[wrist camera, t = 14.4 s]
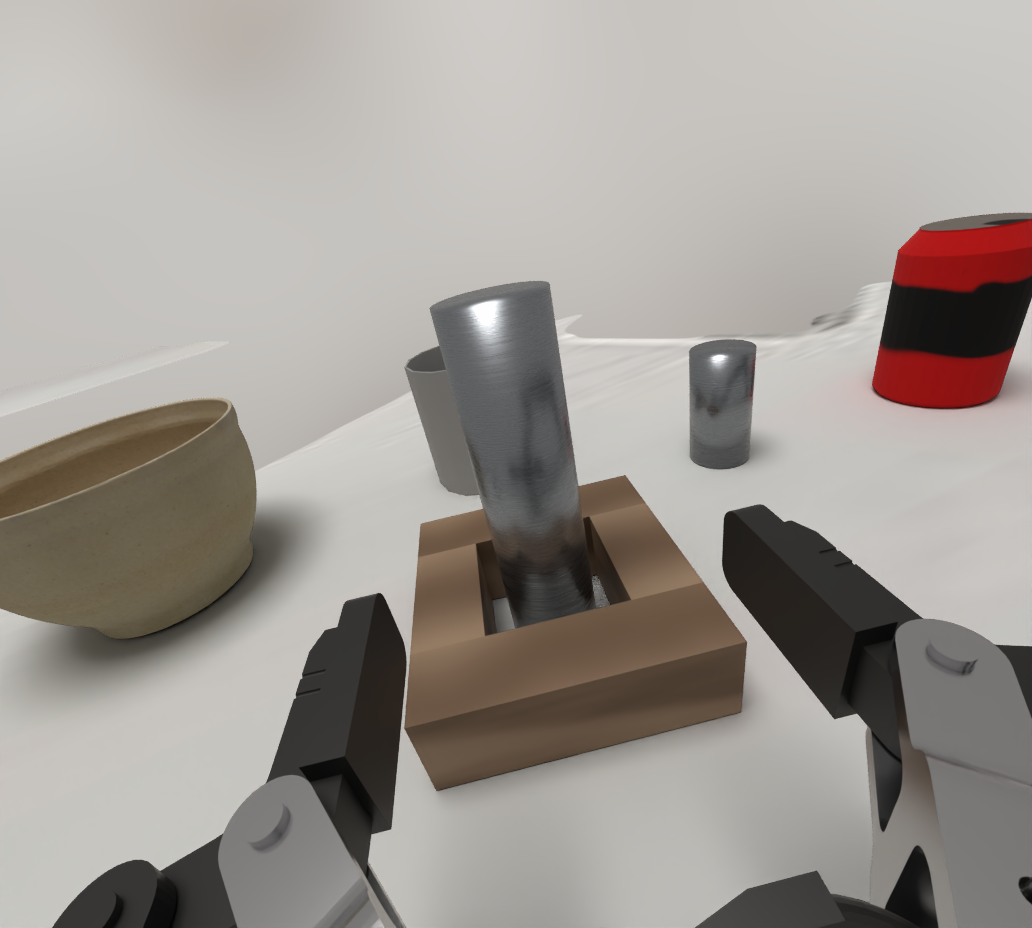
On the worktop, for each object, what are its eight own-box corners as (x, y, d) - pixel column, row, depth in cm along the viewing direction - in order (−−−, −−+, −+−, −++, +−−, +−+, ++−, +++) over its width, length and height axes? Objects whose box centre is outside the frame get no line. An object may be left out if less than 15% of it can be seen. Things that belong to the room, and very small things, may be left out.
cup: (426, 498, 36) (386, 378, 31) (455, 449, 43) (425, 345, 38) (531, 491, 34) (504, 362, 29) (542, 440, 41) (523, 330, 36)
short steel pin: (695, 440, 36) (695, 340, 32) (751, 444, 34) (759, 338, 30) (684, 466, 33) (683, 359, 29) (745, 471, 31) (753, 358, 27)
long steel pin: (539, 592, 25) (472, 288, 17) (609, 611, 23) (568, 276, 15) (503, 650, 22) (404, 316, 15) (580, 677, 20) (512, 305, 13)
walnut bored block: (439, 576, 28) (420, 523, 26) (629, 530, 28) (625, 475, 26) (436, 790, 17) (404, 728, 15) (741, 711, 18) (746, 641, 16)
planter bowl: (248, 499, 42) (186, 388, 37) (341, 551, 32) (274, 408, 27) (22, 620, 32) (-107, 491, 27) (56, 751, 22) (-140, 584, 17)
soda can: (924, 417, 33) (972, 235, 27) (849, 384, 40) (875, 232, 34) (1029, 396, 33) (1100, 208, 27) (936, 366, 39) (977, 210, 34)
